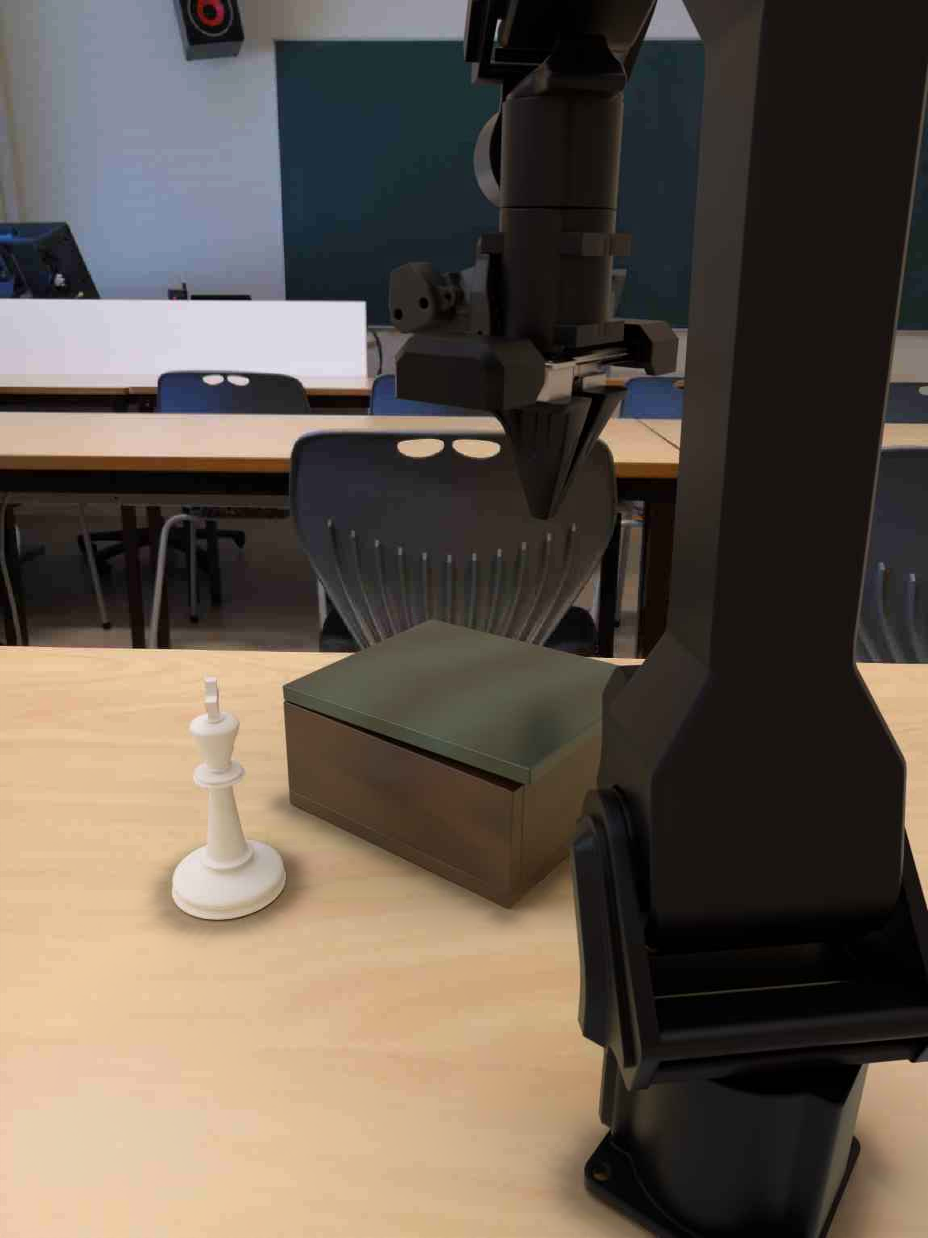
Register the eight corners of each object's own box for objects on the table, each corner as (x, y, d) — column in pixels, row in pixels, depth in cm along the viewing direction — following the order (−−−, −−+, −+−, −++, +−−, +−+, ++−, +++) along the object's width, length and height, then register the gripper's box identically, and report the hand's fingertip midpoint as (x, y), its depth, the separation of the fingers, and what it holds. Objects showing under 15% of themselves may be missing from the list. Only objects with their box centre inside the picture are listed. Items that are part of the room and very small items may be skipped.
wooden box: (634, 795, 49) (643, 695, 47) (508, 909, 40) (513, 792, 38) (431, 721, 56) (431, 631, 54) (289, 803, 48) (282, 701, 46)
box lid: (658, 689, 46) (659, 674, 46) (530, 787, 37) (530, 769, 37) (431, 631, 54) (431, 618, 54) (282, 700, 46) (281, 685, 45)
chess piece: (167, 927, 39) (139, 711, 35) (177, 857, 43) (153, 659, 40) (287, 913, 40) (272, 701, 36) (285, 846, 44) (271, 652, 41)
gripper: (524, 215, 57) (515, 467, 63) (303, 204, 43) (318, 529, 49) (695, 215, 51) (667, 494, 57) (501, 202, 37) (491, 573, 43)
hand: (542, 518), depth 52 cm, fingers closed
